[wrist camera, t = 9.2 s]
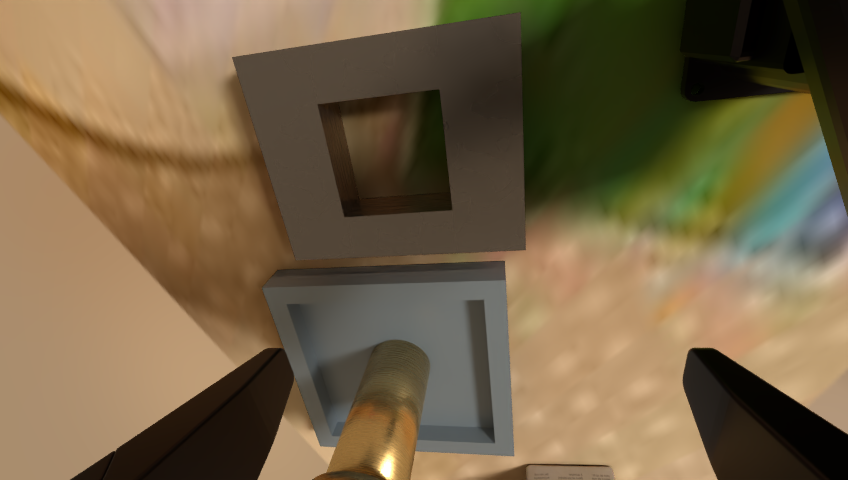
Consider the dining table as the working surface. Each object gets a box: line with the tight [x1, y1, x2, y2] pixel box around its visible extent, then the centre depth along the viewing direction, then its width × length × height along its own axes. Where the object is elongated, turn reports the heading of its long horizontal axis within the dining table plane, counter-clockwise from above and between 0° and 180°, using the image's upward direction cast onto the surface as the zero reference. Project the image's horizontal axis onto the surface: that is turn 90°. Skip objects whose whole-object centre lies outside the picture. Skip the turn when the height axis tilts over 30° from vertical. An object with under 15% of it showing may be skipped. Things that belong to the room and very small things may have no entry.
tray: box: [262, 261, 514, 456], centre depth 26 cm, size 14×14×2 cm
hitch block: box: [232, 12, 526, 260], centre depth 19 cm, size 12×10×2 cm
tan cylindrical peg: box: [312, 340, 430, 480], centre depth 22 cm, size 5×5×10 cm
